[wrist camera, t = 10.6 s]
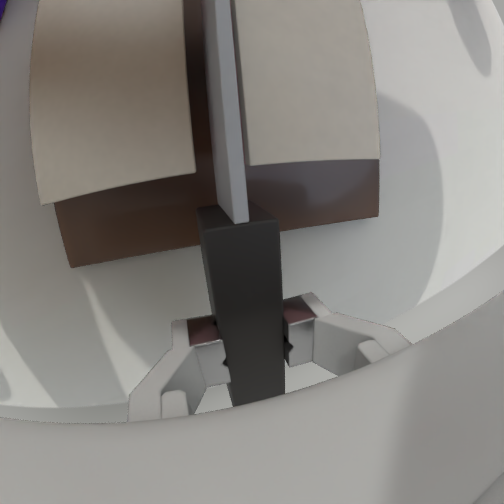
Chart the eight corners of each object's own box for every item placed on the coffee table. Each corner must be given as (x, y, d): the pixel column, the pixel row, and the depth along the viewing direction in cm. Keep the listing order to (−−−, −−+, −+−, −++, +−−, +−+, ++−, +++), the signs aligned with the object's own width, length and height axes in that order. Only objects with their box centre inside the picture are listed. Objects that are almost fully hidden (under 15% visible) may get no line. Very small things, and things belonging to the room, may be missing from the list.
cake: (61, -21, 7) (29, -69, 1) (341, -32, 11) (394, -68, 5) (75, 261, 14) (33, 322, 8) (369, 213, 17) (438, 243, 12)
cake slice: (209, -2, 10) (228, -58, 5) (301, 4, 11) (350, -37, 6) (223, 160, 13) (249, 166, 8) (318, 152, 14) (380, 159, 9)
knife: (265, 367, 13) (285, 412, 10) (224, 376, 13) (238, 424, 10) (231, -19, 7) (250, -62, 4) (178, -17, 6) (183, -63, 4)
